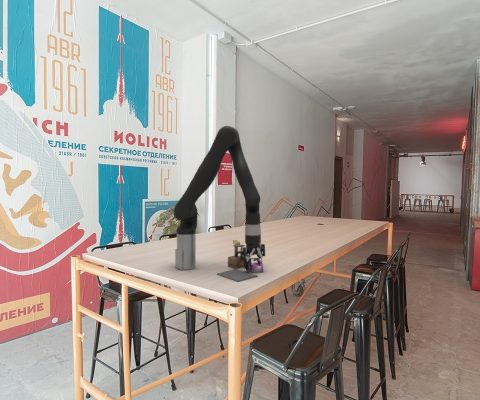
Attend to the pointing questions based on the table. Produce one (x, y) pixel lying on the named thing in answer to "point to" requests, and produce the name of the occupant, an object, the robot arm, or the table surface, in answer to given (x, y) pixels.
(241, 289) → the table surface
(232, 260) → the block
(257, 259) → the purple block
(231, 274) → the rubber mat
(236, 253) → the t key
